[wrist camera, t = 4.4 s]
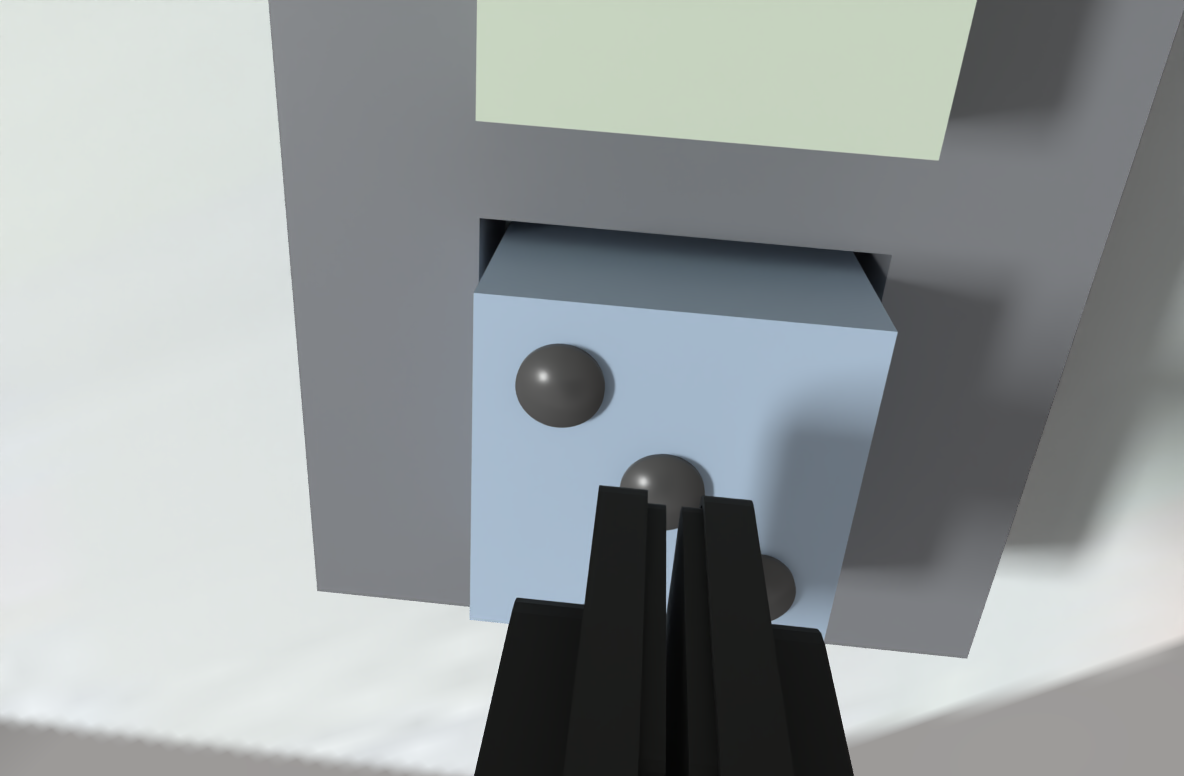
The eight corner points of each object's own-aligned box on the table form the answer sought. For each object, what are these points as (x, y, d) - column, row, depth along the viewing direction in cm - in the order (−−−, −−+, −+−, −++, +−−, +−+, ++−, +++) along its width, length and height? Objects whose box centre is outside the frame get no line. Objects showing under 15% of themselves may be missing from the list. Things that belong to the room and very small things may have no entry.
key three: (512, 219, 14) (471, 296, 11) (852, 250, 13) (899, 336, 11) (503, 502, 16) (468, 625, 13) (794, 531, 16) (821, 662, 13)
